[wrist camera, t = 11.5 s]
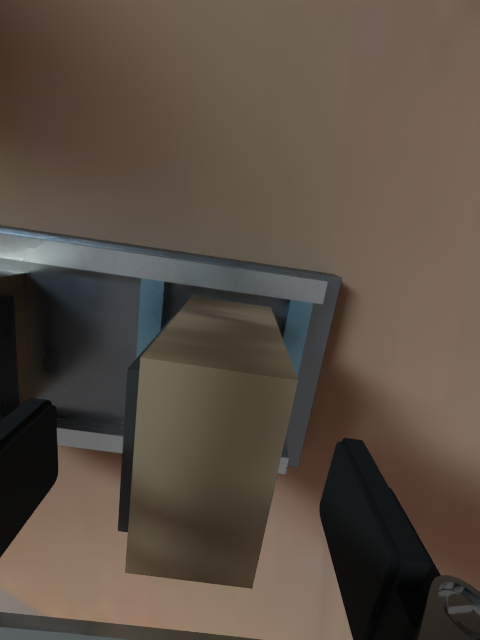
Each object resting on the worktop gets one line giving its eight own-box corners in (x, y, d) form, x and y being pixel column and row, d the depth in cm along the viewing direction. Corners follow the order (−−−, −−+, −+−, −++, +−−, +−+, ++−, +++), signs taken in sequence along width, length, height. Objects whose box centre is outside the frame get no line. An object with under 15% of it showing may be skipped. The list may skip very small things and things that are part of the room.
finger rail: (-115, 208, 18) (-604, 173, 8) (333, 274, 18) (445, 324, 8) (-86, 401, 21) (-398, 559, 11) (294, 450, 22) (338, 644, 11)
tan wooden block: (168, 419, 19) (107, 570, 11) (181, 293, 17) (118, 354, 9) (248, 430, 19) (252, 588, 11) (271, 307, 17) (298, 380, 9)
